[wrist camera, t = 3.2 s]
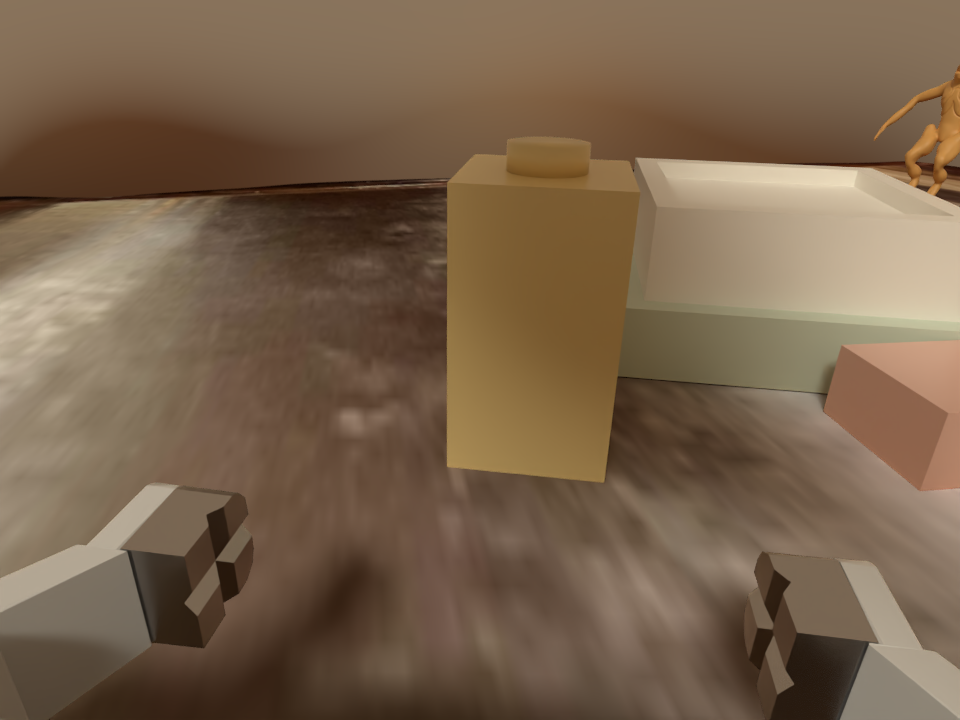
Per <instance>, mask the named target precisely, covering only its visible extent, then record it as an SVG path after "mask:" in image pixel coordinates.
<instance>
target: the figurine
mask: <svg viewBox="0 0 960 720" xmlns="http://www.w3.org/2000/svg"><path fill="white" fill-rule="evenodd" d="M940 96H942V99H941V106H942V112H941V116H942V118H941V121H940V124H939V127H938V129H936V127H935V125H934V124H930V125H928V126H927V127H926V128H925V131H924V132H923V134H922V137H921V138H920V139H919V140H918V142H917V143H916V144H915V145H914V146H913V148H912V149H911V150H909V151H908V152H907V153H906V155H905V163H906V166H907V172H908V175H909V176H910V177H911V181H910V183H909V184H908V185H911V186H913V187H916V186H917V184H918V182H919V177H920V175H921V168H920V167H919V166H918V165H916V164H915V162H916V161H917V160H918V159H919V158H920V157H923V156H926V155H928V154H929V153H930V152H932V150H933V149H934V147H935V145H936V143H937V142H938V141H939V142H941V143H940V145H939V146H938V148H937V155H936V157H935V161H934V174H933V179H934V181H935V183H934V184H933V186H932V187H931V188H930V189H929V190H928V192H927V193H929V194H931V195H933V196H935V195H936V193H937V192H938V191H939V189H940V187H941V185H942V183H943V182H944V181H945V180H946V178H947V173H946V171H945V170H944V169H943V167H944V166H945V165H947V164H948V163H949V162H951V161H952V160H953V159H954V158H955V157H956V156H957V155H958V154H959V152H960V65H959V66H958V69H957V71H956V73H955V77H954V79H953V80H951V81H948V82H946V83H944V84H942V85H940V86H938V87H936V88H933V89H930V90H927V91H925V92H922V93H921V94H918V95H917V96H915V97H914V98H912V99H911V100H910V101H909V103H908V104H907V105H906V106H904V107H903V108H902V109H901V110H899V111H898V112H896V113H895V114H894V115H893V116H892V117H890V119H889V120H888V121H886V123H884V125H883V126H882V127H881V129H880V130H879V131H878V133H877V135H876V136H875V138H874V140H876V139H877V137H878V136H879V135H880V133H881V132H883V130H884V129H885V128H886V127H888V126H889V125H891V124H893V123H894V122H896V121H897V120H899V119H900V118H901V117H903V116H904V115H905V114H906V113H907V112H908V111H910V110H911V109H912V108H913V107H914V106H915V105H916V104H917V103H919V102H923V101H927V100H931V99H934V98H937V97H940Z"/></svg>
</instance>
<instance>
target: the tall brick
mask: <svg viewBox="0 0 960 720" xmlns="http://www.w3.org/2000/svg"><path fill="white" fill-rule="evenodd" d="M590 151H591V143H590V142H587V141H583V140H578V139H571V138H561V137H560V138H559V137H519V138H512V139H509V140H508V141H507V156H506V155H484V154H475V155H474V156H473V157H472V158H471V159H470V160H469V161H468V162H467V163H466V164H465V165H464V166H463V167H462V168H461V169H460V170H459V171H458V172H457V173H456V174H455V175H454V176H453V177H452V178H451V179H450V180H449V181H448V182H447V467H453V468H463V469H473V470H483V471H493V472H503V473H513V474H523V475H532V476H542V477H552V478H562V479H572V480H582V481H592V482H602V483H604V480H605V472H606V464H607V456H608V448H609V440H610V432H611V424H612V416H613V408H614V400H615V392H616V384H617V376H618V368H619V360H620V352H621V344H622V336H623V328H624V320H625V312H626V304H627V296H628V288H629V280H630V272H631V264H632V256H633V248H634V240H635V232H636V224H637V216H638V208H639V200H640V190H639V187H638V184H637V181H636V179H635V176H634V173H633V170H632V168H631V165H630V162H629V161H616V160H595V159H590Z"/></svg>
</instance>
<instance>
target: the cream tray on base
mask: <svg viewBox="0 0 960 720" xmlns="http://www.w3.org/2000/svg"><path fill="white" fill-rule="evenodd" d="M634 176H635V179H636V181H637V184H638V187H639V190H640V200H639V208H638V216H637V224H636V232H635V240H634V248H633V256H632V264H631V272H630V280H629V288H628V296H627V304H626V312H625V320H624V328H623V336H622V344H621V352H620V360H619V368H618V376H621V377H633V378H645V379H657V380H669V381H681V382H693V383H706V384H718V385H730V386H742V387H754V388H766V389H779V390H791V391H803V392H815V393H827V394H828V392H829V388H830V385H831V381H832V377H833V374H834V370H835V367H836V363H837V359H838V356H839V352H840V348H841V345H851V344H875V343H899V342H922V341H946V340H960V207H958V206H956V205H954V204H951V203H949V202H947V201H945V200H942V199H940V198H938V197H936V196H933V195H931V194H929V193H926V192H924V191H922V190H920V189H917V188H915V187H913V186H911V185H908V184H906V183H904V182H901V181H899V180H897V179H895V178H892V177H890V176H888V175H886V174H883V173H881V172H879V171H876V170H874V169H872V168H855V167H833V166H810V165H787V164H764V163H740V162H719V161H696V160H671V159H650V158H636V162H635V170H634Z"/></svg>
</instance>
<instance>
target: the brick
mask: <svg viewBox="0 0 960 720" xmlns="http://www.w3.org/2000/svg"><path fill="white" fill-rule="evenodd" d="M823 412H825V413H826V414H827V415H828V416H829V417H831V418H832V419H833V420H834V421H835V422H837V423H838V424H839V425H840V426H842V427H843V428H844V429H845V430H846V431H848V432H849V433H850V434H851V435H852V436H854V437H855V438H856V439H857V440H858V441H860V442H861V443H862V444H863V445H865V446H866V447H867V448H868V449H869V450H871V451H872V452H873V453H874V454H875V455H877V456H878V457H879V458H880V459H882V460H883V461H884V462H885V463H886V464H888V465H889V466H890V467H891V468H892V469H894V470H895V471H896V472H897V473H898V474H900V475H901V476H902V477H903V478H905V479H906V480H907V481H908V482H909V483H911V484H912V485H913V486H914V487H915V488H917V489H918V490H919V491H928V490H941V489H953V488H960V340H946V341H922V342H899V343H875V344H851V345H841V348H840V352H839V356H838V359H837V363H836V367H835V370H834V374H833V377H832V381H831V385H830V388H829V392H828V396H827V399H826V403H825V407H824V410H823Z"/></svg>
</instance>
